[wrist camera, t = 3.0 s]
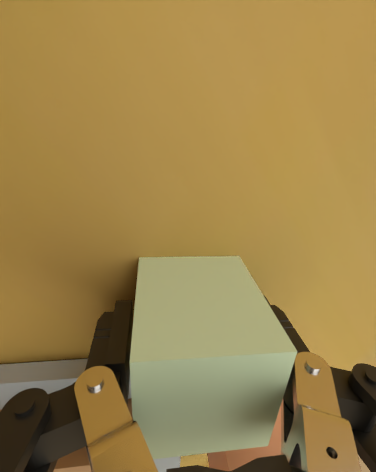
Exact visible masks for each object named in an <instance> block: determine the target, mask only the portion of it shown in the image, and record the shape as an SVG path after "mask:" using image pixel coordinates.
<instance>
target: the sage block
mask: <svg viewBox="0 0 376 472" xmlns="http://www.w3.org/2000/svg"><path fill="white" fill-rule="evenodd" d="M296 354H297V350H296V348H295V347H294V345H293V343H292V342H291V340H290V339H289V337H288V335H287V334H286V332H285V330H284V329H283V327H282V325H281V324H280V322H279V320H278V319H277V317H276V316H275V314H274V312H273V311H272V309H271V307H270V306H269V304H268V302H267V301H266V299H265V297H264V296H263V294H262V292H261V291H260V289H259V288H258V286H257V284H256V283H255V281H254V279H253V278H252V276H251V274H250V273H249V271H248V269H247V268H246V266H245V264H244V263H243V261H242V260H241V258H240V256H198V257H139V263H138V274H137V285H136V296H135V307H134V319H133V330H132V341H131V352H130V380H131V398H132V416H133V421H136V422H137V423H138V425H139V427H140V429H141V432H142V434H143V436H144V439H145V441H146V444H147V446H148V448H149V451H150V453H151V456H152V458H153V459H160V458H169V457H178V456H186V455H195V454H204V453H212V452H221V451H230V450H238V449H247V448H256V447H265V446H268V444H269V441H270V438H271V435H272V431H273V428H274V425H275V422H276V419H277V415H278V412H279V409H280V406H281V403H282V399H283V396H284V393H285V390H286V387H287V383H288V380H289V377H290V374H291V371H292V367H293V364H294V361H295V358H296Z"/></svg>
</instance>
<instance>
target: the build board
mask: <svg viewBox="0 0 376 472" xmlns="http://www.w3.org/2000/svg"><path fill="white" fill-rule="evenodd" d="M87 361H88V359H75V360H60V361H44V362H29V363H14V364H0V410H2V408H3V407H4V405H5V404H6V403H7V402H8V401H9V400H10V399H11V398H12V397H13V396H15V395H16V394H17V393H19V392H21V391H23V390H26V389H29V388H40V389H43V390H44V391H46V392H47V394H50V393H52V392H55V391H58V390H61V389H63V388H66V387H68V386H70V385H72V384H73V383H74V382H76V380H77V379H78V377H79V376H80V375H81V374H82V373H83V372H84V371H85V368H86V364H87ZM129 398H131V380H130V382H129V394H128V399H129ZM180 457H181V456H178V457H169V458H160V459H153V461H154V463H155V465H156V468H157V470H158V472H166V469H171V468H179V467H180Z"/></svg>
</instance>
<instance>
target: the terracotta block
mask: <svg viewBox="0 0 376 472" xmlns="http://www.w3.org/2000/svg"><path fill="white" fill-rule="evenodd" d="M276 455H281V406H280V409H279V412H278V415H277V419H276V422H275V425H274V428H273V431H272V435H271V438H270V441H269V444H268V446H265V447H256V448H247V449H238V450H230V451H221V452H212V453H207V456H208V462H209V468H214V469H219V470H224V471H232V470H234V469H236V468H238V467H240V466H242V465H244V464H246V463H248V462H250V461H252V460H254V459H256V458H260V457H268V456H276Z"/></svg>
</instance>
